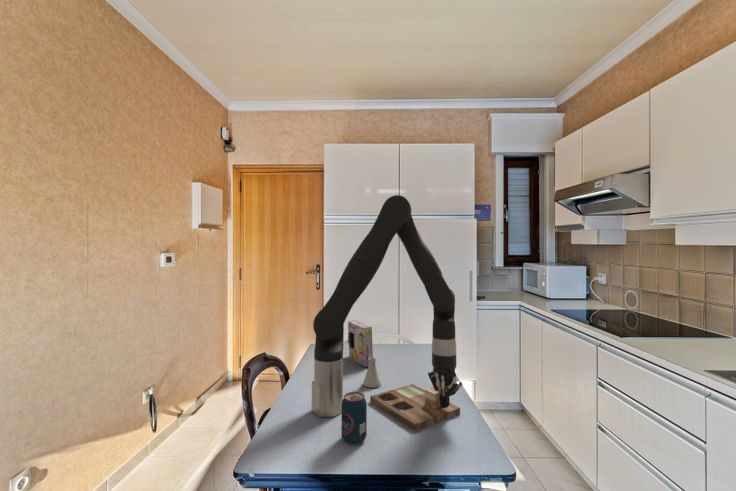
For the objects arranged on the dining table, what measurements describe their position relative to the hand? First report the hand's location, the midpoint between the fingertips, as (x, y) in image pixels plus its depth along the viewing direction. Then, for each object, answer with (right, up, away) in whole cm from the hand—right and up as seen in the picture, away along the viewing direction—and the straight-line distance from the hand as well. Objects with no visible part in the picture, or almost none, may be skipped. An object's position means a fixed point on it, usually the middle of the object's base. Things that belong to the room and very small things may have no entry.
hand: (444, 406), depth 112 cm
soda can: (-28, -3, -13) cm, 31 cm away
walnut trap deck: (-9, -3, +6) cm, 11 cm away
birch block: (-2, -1, +4) cm, 5 cm away
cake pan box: (-28, -3, +53) cm, 60 cm away
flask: (-22, -3, +25) cm, 34 cm away
